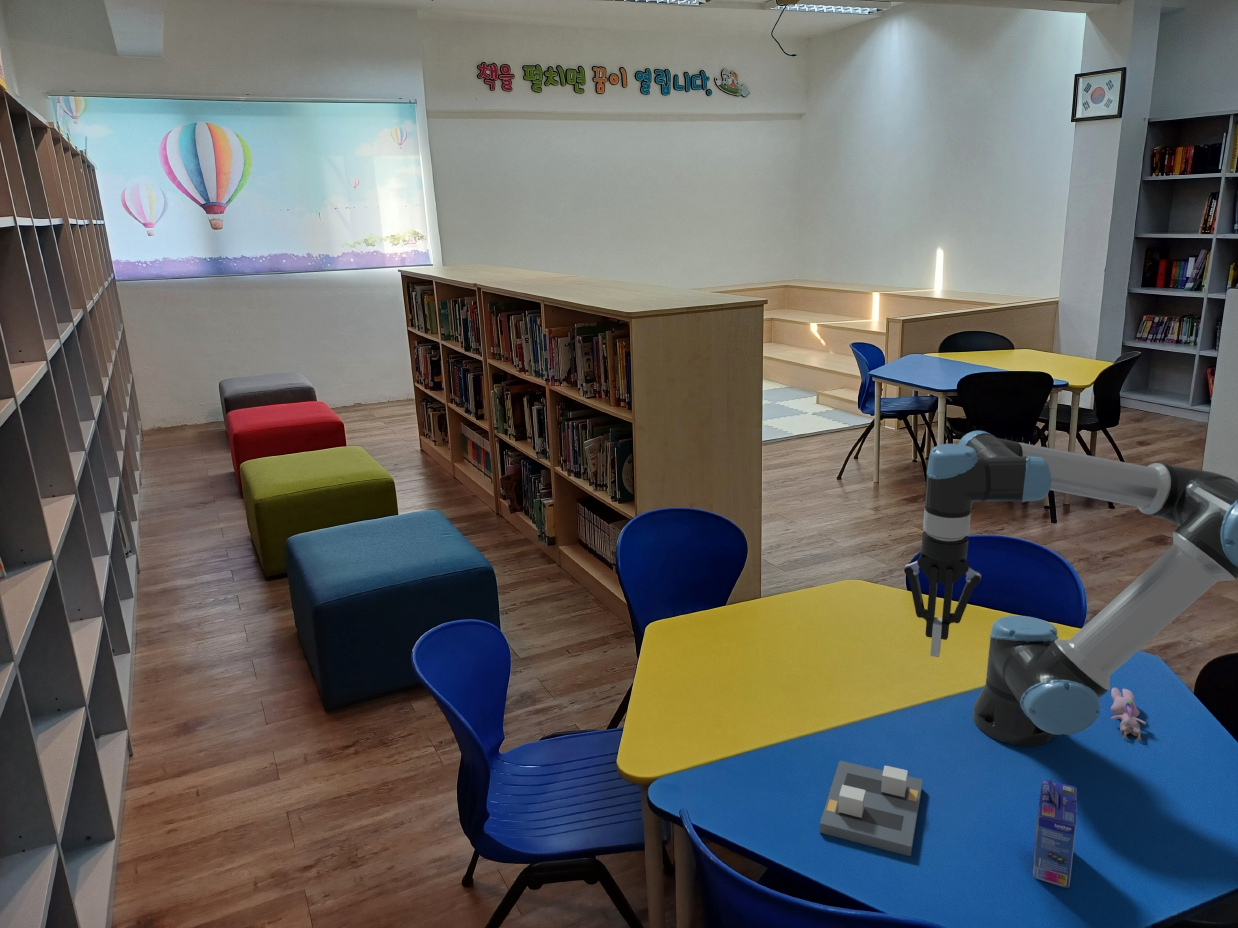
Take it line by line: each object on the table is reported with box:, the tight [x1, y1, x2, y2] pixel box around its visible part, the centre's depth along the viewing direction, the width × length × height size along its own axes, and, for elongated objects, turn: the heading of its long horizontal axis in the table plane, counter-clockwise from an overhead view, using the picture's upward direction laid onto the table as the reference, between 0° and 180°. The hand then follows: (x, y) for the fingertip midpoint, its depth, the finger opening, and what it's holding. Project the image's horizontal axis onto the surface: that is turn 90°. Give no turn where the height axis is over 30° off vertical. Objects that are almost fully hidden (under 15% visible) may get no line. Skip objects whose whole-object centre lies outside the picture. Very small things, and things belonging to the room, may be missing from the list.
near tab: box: [838, 785, 866, 818], centre depth 149 cm, size 4×3×4 cm
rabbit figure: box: [1110, 687, 1147, 741], centre depth 173 cm, size 6×6×15 cm
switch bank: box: [819, 760, 924, 857], centre depth 152 cm, size 15×18×2 cm
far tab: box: [881, 765, 909, 797], centre depth 153 cm, size 4×3×4 cm
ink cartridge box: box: [1032, 778, 1078, 889], centre depth 137 cm, size 10×6×14 cm, turn 153°
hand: (935, 652), depth 156 cm, fingers closed
